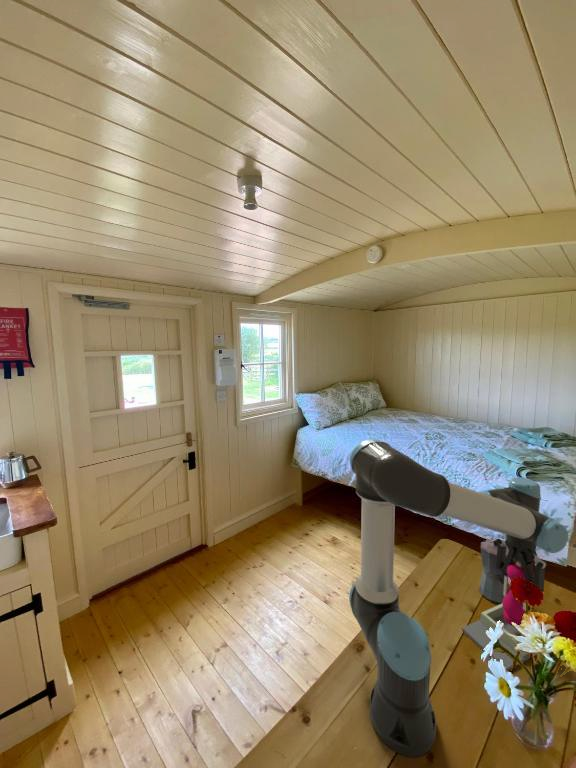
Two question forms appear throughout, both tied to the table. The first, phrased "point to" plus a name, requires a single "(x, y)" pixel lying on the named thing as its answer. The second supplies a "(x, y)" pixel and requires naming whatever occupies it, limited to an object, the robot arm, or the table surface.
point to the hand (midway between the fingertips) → (516, 601)
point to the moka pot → (491, 572)
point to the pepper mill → (510, 604)
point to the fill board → (489, 620)
